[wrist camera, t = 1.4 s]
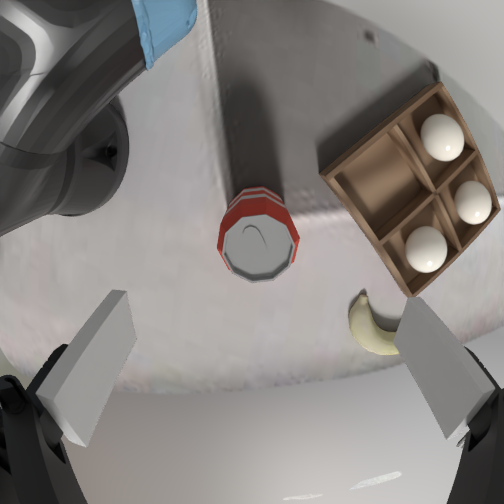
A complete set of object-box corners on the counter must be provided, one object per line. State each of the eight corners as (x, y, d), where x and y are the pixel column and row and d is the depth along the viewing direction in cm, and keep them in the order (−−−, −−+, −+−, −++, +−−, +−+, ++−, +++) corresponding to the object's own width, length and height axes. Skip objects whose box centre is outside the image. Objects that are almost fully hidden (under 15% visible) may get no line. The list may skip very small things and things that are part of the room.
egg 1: (404, 129, 27) (430, 128, 21) (430, 107, 25) (457, 103, 20) (427, 167, 28) (454, 173, 23) (451, 144, 27) (479, 146, 22)
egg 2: (390, 239, 31) (411, 256, 26) (421, 212, 30) (446, 224, 25) (408, 270, 33) (429, 289, 28) (437, 243, 32) (460, 259, 26)
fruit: (402, 354, 39) (410, 367, 36) (332, 332, 37) (338, 346, 34) (428, 320, 37) (437, 332, 34) (360, 290, 35) (368, 303, 32)
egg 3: (440, 193, 29) (467, 202, 24) (464, 169, 28) (491, 175, 23) (455, 225, 31) (480, 238, 25) (477, 202, 29) (503, 211, 24)
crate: (318, 173, 29) (325, 176, 27) (428, 84, 25) (441, 81, 22) (401, 290, 34) (410, 300, 32) (488, 204, 30) (500, 209, 27)
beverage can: (269, 175, 30) (279, 191, 18) (293, 227, 32) (314, 270, 20) (219, 199, 31) (199, 229, 19) (245, 248, 33) (240, 301, 21)
